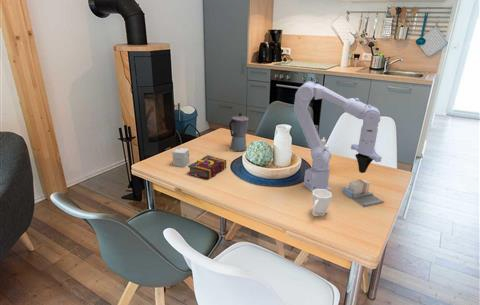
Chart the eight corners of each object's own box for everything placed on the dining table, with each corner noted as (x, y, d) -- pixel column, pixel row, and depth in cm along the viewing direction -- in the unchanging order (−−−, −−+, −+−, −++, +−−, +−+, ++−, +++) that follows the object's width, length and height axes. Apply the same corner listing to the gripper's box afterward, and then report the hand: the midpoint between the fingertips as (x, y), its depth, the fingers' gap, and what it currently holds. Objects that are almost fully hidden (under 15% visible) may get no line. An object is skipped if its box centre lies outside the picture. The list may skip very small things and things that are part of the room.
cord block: (353, 196, 127) (355, 185, 125) (347, 192, 130) (349, 181, 128) (367, 193, 129) (369, 182, 127) (361, 189, 132) (363, 178, 130)
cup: (332, 211, 118) (335, 192, 115) (322, 224, 110) (324, 203, 107) (314, 205, 121) (316, 186, 118) (303, 217, 114) (305, 197, 111)
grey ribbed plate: (362, 208, 120) (364, 201, 119) (341, 192, 131) (342, 185, 130) (384, 203, 123) (385, 196, 122) (361, 188, 134) (362, 182, 133)
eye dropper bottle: (324, 162, 160) (327, 139, 155) (314, 159, 163) (316, 137, 158) (328, 160, 163) (331, 137, 158) (318, 157, 166) (320, 135, 162)
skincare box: (184, 167, 152) (183, 153, 149) (172, 166, 153) (171, 151, 150) (189, 162, 157) (189, 148, 154) (178, 161, 159) (177, 147, 156)
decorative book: (227, 168, 152) (227, 158, 150) (207, 181, 139) (206, 171, 137) (207, 163, 157) (207, 154, 155) (186, 175, 144) (186, 165, 142)
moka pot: (252, 147, 178) (254, 112, 171) (238, 155, 166) (238, 118, 159) (238, 143, 183) (238, 109, 176) (223, 151, 171) (222, 115, 164)
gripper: (390, 144, 116) (383, 178, 121) (363, 132, 129) (358, 163, 134) (374, 146, 114) (368, 181, 119) (348, 134, 126) (344, 165, 132)
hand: (362, 172), depth 126 cm, fingers closed
